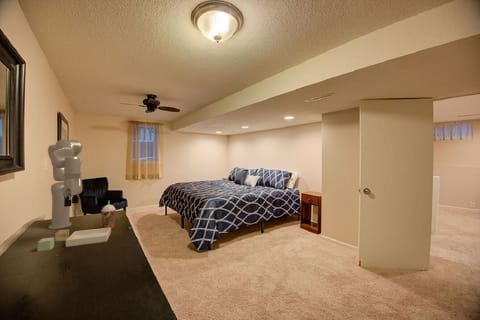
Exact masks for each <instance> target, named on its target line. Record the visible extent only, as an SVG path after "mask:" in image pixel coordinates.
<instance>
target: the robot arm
mask: <svg viewBox="0 0 480 320" xmlns="http://www.w3.org/2000/svg"><path fill="white" fill-rule="evenodd" d="M82 150H83V143H82V142H81V141H79V140H73V139H59V140H57V141H56V142H55V144H51V145H48V147H47V154H48V157H49V159H50V163H51V166H52V178H53V180H54V181H56V182H54V183H53V184H52V185H51V186H50V193H51V201H52V202H51V224H49V225H48V229H51V230H57V229H65V228H68V227H71V226H72V225H73V223H72V222H70V211H71V210H70V208H71V207H72V204H78V203H79V196H80V195H79V194H81V193H82V191H83V180H82V179H83V177H82V172H81V166H82V159H81V157H80V156H79V155H80V153H81V152H82Z"/></svg>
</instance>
